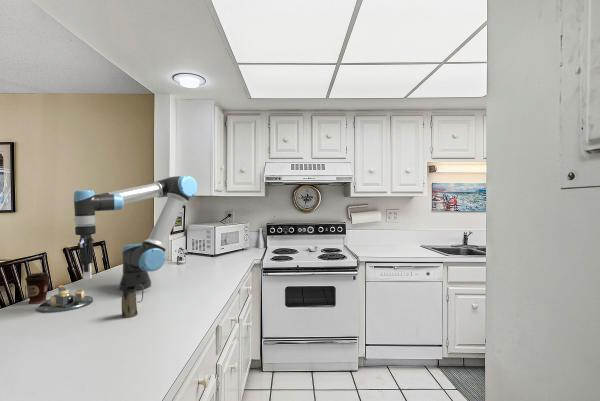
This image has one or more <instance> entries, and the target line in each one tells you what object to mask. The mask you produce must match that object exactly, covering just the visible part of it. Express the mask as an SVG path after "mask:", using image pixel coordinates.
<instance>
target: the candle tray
mask: <svg viewBox="0 0 600 401" xmlns="http://www.w3.org/2000/svg"><path fill="white" fill-rule="evenodd" d="M65 294H67V304H65V305H60V306H56V307H51V300H46V301H45V302H42V303H41V304H39V305H38V307H37V311H38V312H40V313H60V312H61V313H62V312H68V311H69V312H70V311H73V310H77V309H81V308H84V307H87V306H89V305H91V304H93V303H94V297H93V296H90V295H84V301H81V302H75V295H71V294H70V292H69V293H65Z"/></svg>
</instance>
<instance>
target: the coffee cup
mask: <svg viewBox="0 0 600 401" xmlns="http://www.w3.org/2000/svg"><path fill="white" fill-rule="evenodd" d="M49 279H50V275H49V274H48V272H36V273H29V274H27V276H26V278H25V279H24V280H25V281H26V286H25V287H26V291H27V297H28V299H29V300H28V304H30V305H31V304H33V305H34V304H40V303H41V304H42V303H45V302H47V294H48V287H49V286H48V285H49V284H48V283H49Z"/></svg>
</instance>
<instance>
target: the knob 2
mask: <svg viewBox="0 0 600 401" xmlns="http://www.w3.org/2000/svg"><path fill="white" fill-rule="evenodd" d="M50 301H51V307H56V306H60V305H65V304H67V294H64V295H60V294H59V293H57V294H53V295H51V296H50Z"/></svg>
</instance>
